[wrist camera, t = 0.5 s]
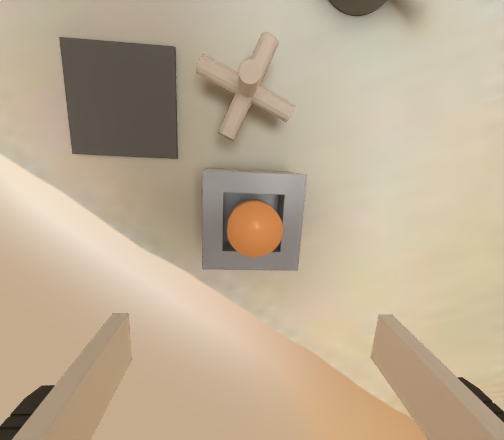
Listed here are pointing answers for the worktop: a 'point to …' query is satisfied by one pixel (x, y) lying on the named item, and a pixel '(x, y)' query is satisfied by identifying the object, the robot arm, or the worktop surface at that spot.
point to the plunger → (254, 228)
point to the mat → (120, 98)
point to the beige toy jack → (246, 86)
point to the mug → (357, 6)
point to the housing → (244, 188)
